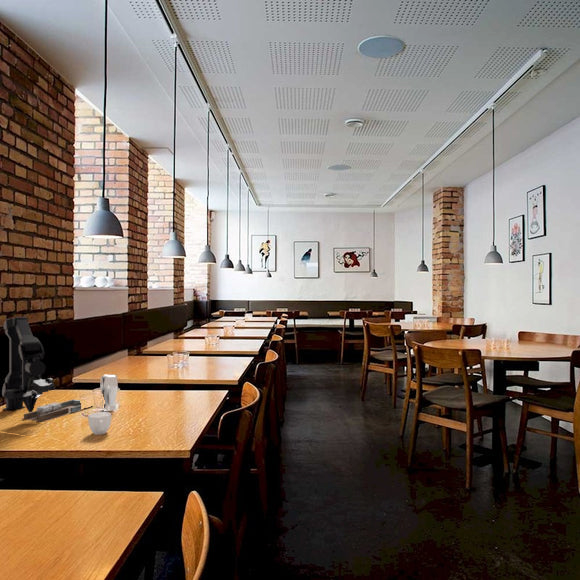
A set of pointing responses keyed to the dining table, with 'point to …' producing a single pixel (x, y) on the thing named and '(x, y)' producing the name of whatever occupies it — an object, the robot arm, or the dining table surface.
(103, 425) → the cup
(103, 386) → the beer glass
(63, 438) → the dining table surface
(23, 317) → the robot arm
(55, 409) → the grey block
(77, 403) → the slot board
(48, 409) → the grey cube
